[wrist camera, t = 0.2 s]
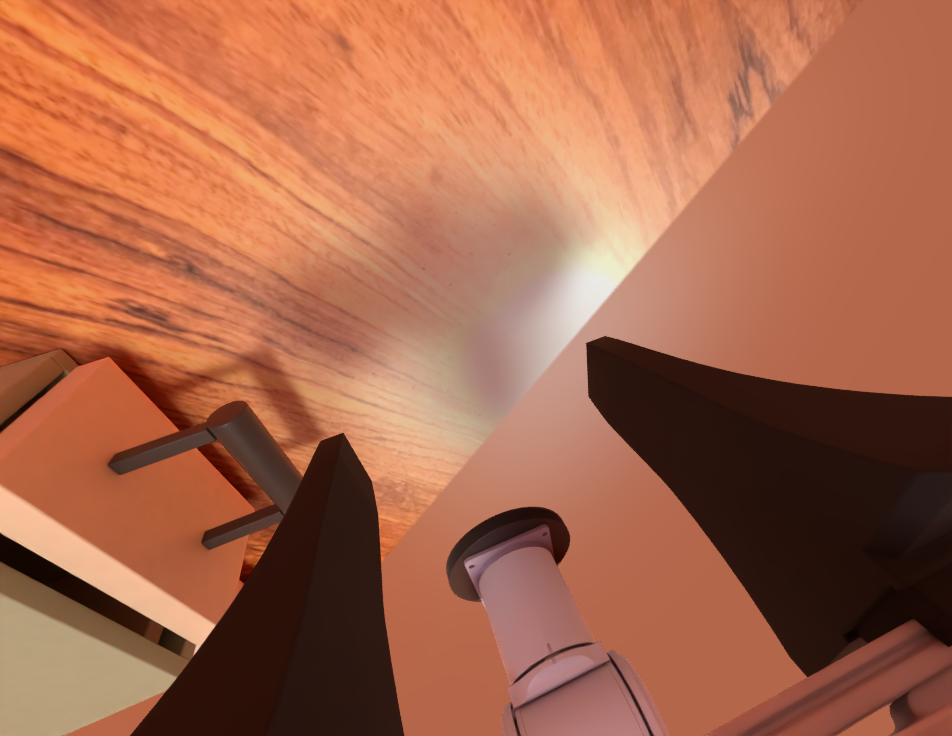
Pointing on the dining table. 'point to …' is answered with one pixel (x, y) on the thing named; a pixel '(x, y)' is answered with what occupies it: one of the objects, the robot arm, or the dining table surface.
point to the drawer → (133, 502)
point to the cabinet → (67, 625)
